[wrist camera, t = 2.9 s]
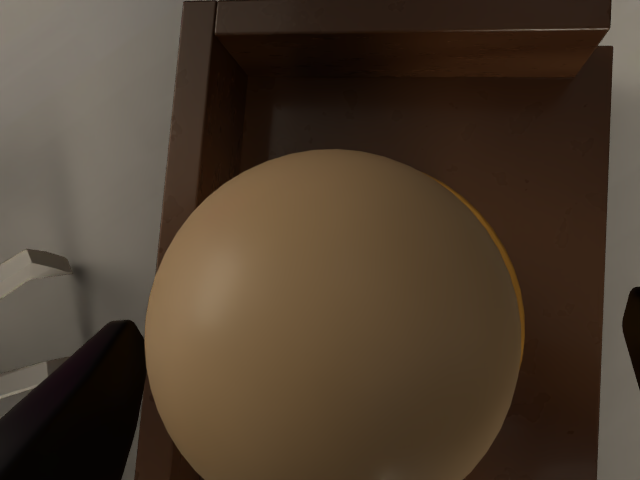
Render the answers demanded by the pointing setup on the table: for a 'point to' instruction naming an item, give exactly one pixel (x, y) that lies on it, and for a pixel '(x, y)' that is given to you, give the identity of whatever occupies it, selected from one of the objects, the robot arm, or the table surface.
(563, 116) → the wooden desk tray
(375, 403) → the doll
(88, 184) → the table surface
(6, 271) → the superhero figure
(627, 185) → the table surface
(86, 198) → the table surface
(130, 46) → the table surface
